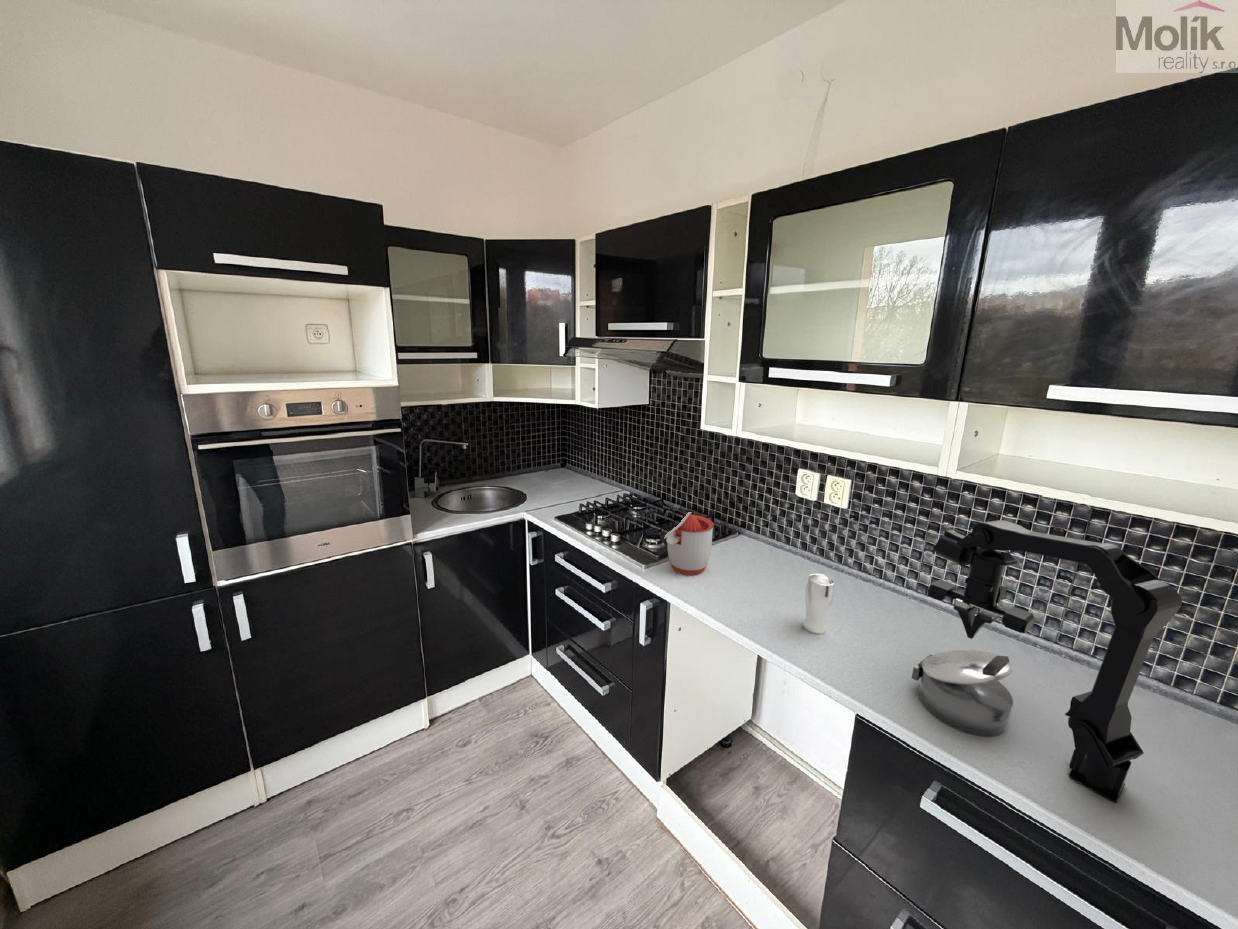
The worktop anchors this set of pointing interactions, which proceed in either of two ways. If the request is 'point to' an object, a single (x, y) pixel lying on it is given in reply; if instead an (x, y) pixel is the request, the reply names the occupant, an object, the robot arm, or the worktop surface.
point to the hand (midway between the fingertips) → (970, 637)
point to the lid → (966, 667)
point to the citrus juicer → (690, 545)
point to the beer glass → (818, 602)
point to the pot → (966, 704)
